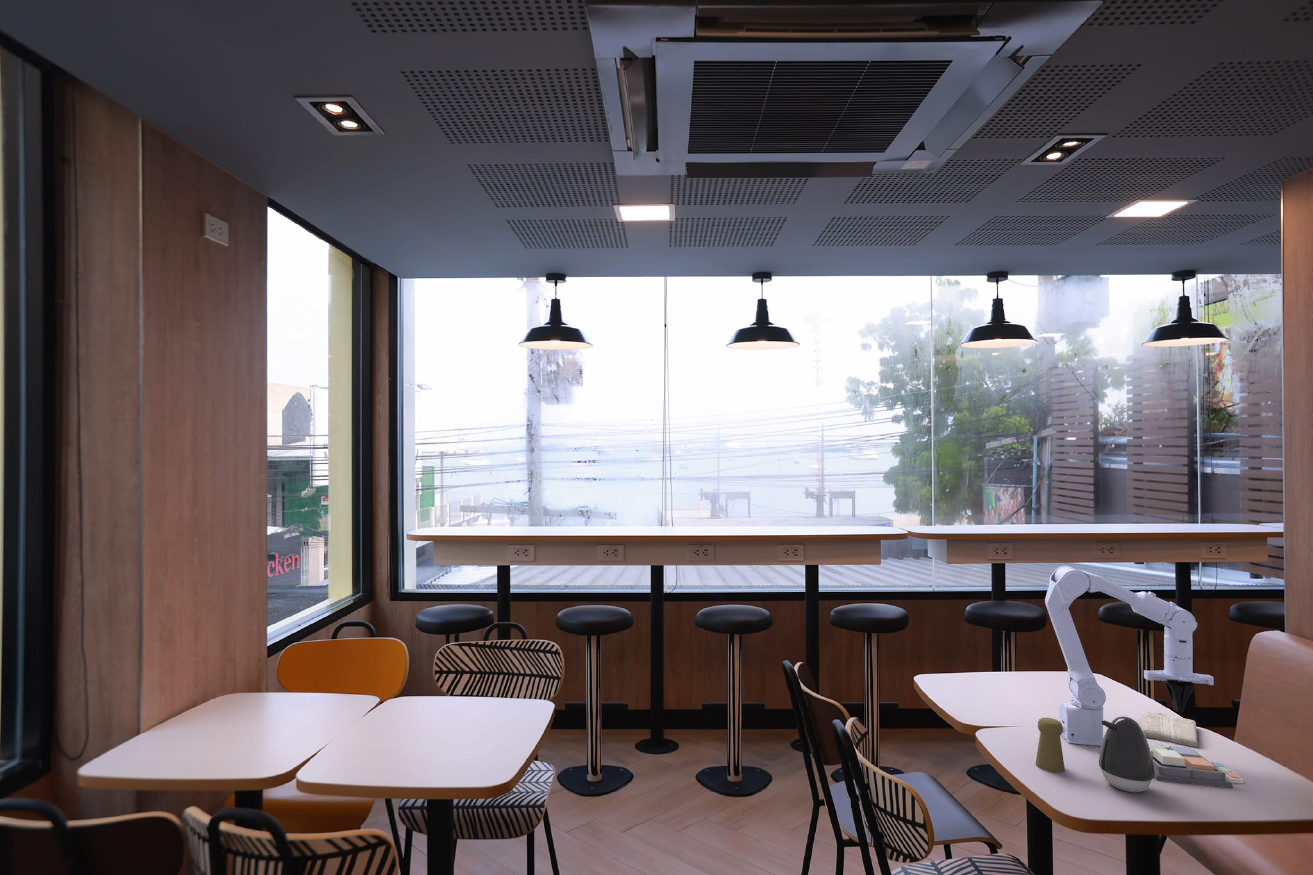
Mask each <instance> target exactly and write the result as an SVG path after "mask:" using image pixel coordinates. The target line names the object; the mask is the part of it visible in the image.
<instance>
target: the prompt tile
mask: <svg viewBox="0 0 1313 875" xmlns="http://www.w3.org/2000/svg"><path fill="white" fill-rule="evenodd" d="M1210 762H1211V763H1212V764H1213V765H1215V766H1216V767H1217V768H1219V769H1220V770H1221V771H1223V772H1224V773H1226V778H1227V779H1228V780H1229V781H1231V782H1232V783H1233V784H1234V783H1235V784H1236V783H1237V784H1244V779H1243V778H1242V777H1241V776H1240V775H1238V774H1237V773H1235V772H1234V771H1232V770H1231V768H1230V769H1229V768H1228V767H1227V766H1225V765H1224V764H1223V763H1222V762H1219V761H1217V762H1216V761H1210Z"/></svg>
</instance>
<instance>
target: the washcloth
mask: <svg viewBox="0 0 1313 875" xmlns="http://www.w3.org/2000/svg"><path fill="white" fill-rule="evenodd" d="M1141 720H1142V721H1141V722H1142V730H1143V732H1144V734H1145V737H1146V738H1147V739H1153V740H1158V741H1165V742H1171V743H1173V744H1178V745H1183V746H1188V747H1193V748H1197V747H1198V746H1199V745H1198V734H1197V722H1196V721H1195V720H1193V719H1189V718H1181V717H1175V716H1174V717H1173V716H1171V715H1167V714H1163V713H1160V712H1152V711H1145V712H1143V714H1142V719H1141Z"/></svg>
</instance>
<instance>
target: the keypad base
mask: <svg viewBox="0 0 1313 875" xmlns="http://www.w3.org/2000/svg"><path fill="white" fill-rule="evenodd" d="M1163 747H1164V748H1166V749H1167V750H1169V746H1163ZM1192 750H1193V751H1195V750H1194V749H1192ZM1195 752H1196V753H1197V754H1199V752H1197V751H1195ZM1199 755H1200V758H1204V759H1206V758H1205V757H1204V756H1202V755H1201V754H1199ZM1152 759H1153V765H1154V779H1155V780H1156V781H1162V782H1163V781H1164V782H1171V783H1172V782H1173V783H1182V784H1193V785H1203V786H1213V787H1223V788H1231V789H1232V788H1233V786H1234V782H1231V781H1229V780H1228V779H1227V778H1226V773H1224V772H1223V771H1221V770H1220V769H1219V768H1217V767H1216V766H1215V765H1214V766H1215V771H1208V770H1198V769H1192V768H1190V767H1189V766H1188V765H1186V764H1185V766H1176V765H1166V764H1162V763H1161V762H1160V761H1158V760H1157V759H1156V758H1155V757H1154V756H1153V755H1152ZM1206 760H1207V761H1208V762H1210V763H1211V762H1212V761H1209V760H1208V759H1206ZM1211 764H1212V763H1211ZM1212 765H1213V764H1212Z"/></svg>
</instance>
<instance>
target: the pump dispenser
mask: <svg viewBox="0 0 1313 875" xmlns="http://www.w3.org/2000/svg"><path fill="white" fill-rule="evenodd" d="M1101 724H1102V725H1103V727H1106V728H1107V729H1106V731H1105V734H1103V741H1102V745H1101V746H1100V749H1099V757H1098V766H1099V768H1100V770H1101V773H1102V775H1103V778H1104V779H1105V780H1106V782H1108V783H1109V784H1110V785H1111V786H1113V787H1114V788H1116V789H1119V790H1121V791H1123V792H1129V793H1140V792H1144V791H1146V790H1147V789H1149V788H1150V786H1151V785H1152V781H1153V780H1154V779H1155V778H1154V765H1153V759H1152V754H1151V751H1150V747H1149V744H1150V743H1149V741H1148V740H1147V739H1148V738H1147V737H1145V734H1144V732H1143V728H1141V726H1140V724H1139V723H1138V722H1137V721H1136V720H1135V719H1133V718H1131V717H1128V716H1124V715H1123V716H1117V717H1116V718H1114V719H1113V720H1112V721H1111V722H1110V721H1108V720H1105V719H1103V720H1102V721H1101Z"/></svg>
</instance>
